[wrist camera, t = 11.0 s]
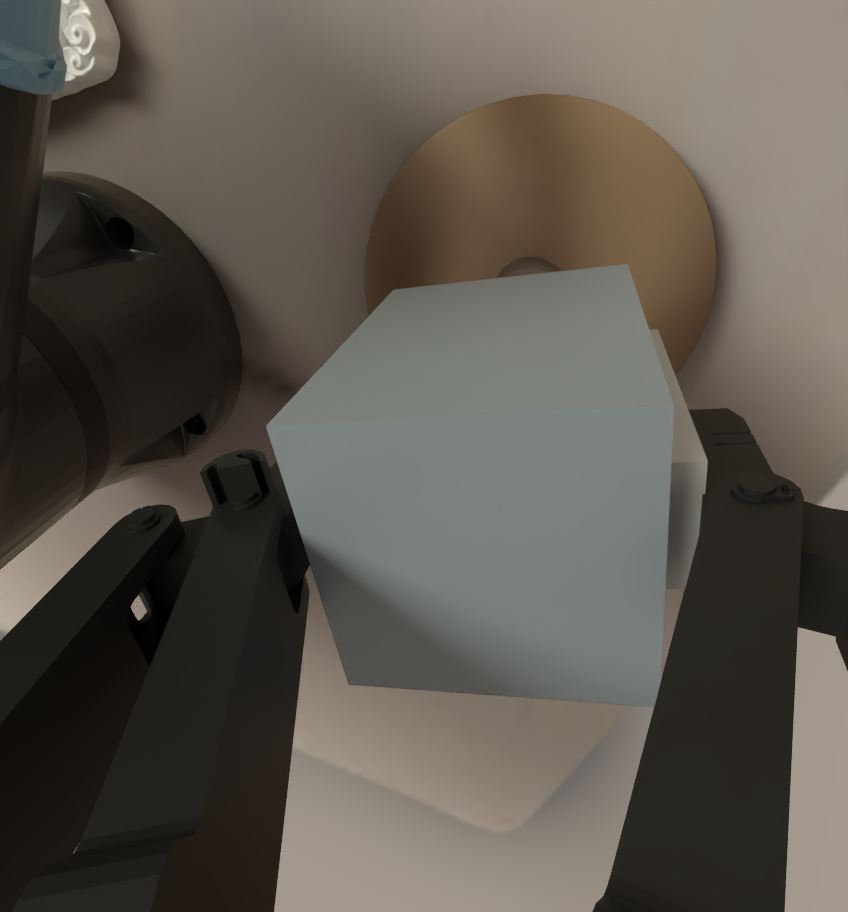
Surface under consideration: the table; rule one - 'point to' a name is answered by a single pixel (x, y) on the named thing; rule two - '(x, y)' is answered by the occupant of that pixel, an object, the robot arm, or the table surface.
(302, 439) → the light grey rectangular block
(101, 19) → the relief plaque
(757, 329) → the table surface
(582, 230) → the peg stand
